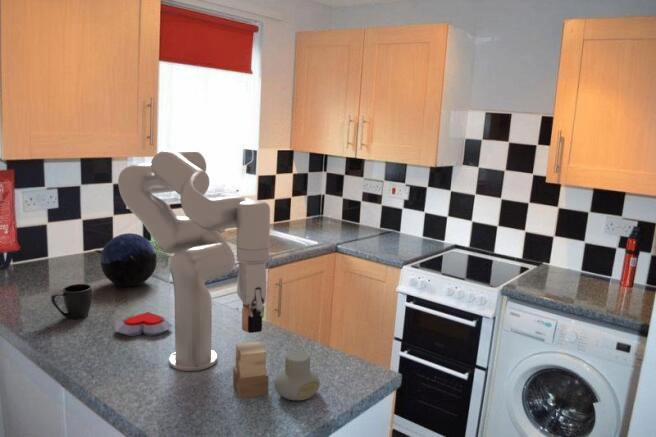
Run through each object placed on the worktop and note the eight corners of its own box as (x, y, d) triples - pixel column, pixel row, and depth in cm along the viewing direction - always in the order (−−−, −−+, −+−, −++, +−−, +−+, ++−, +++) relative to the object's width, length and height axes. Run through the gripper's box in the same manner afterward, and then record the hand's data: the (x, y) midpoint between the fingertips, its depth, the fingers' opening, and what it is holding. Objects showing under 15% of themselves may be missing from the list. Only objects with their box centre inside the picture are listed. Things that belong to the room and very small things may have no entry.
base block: (233, 385, 132) (233, 366, 131) (260, 381, 135) (260, 362, 134) (239, 399, 126) (239, 379, 125) (267, 394, 128) (268, 375, 127)
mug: (47, 318, 167) (45, 289, 165) (86, 309, 176) (84, 282, 174) (57, 326, 162) (56, 296, 160) (97, 316, 170) (95, 288, 169)
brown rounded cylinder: (240, 325, 129) (240, 306, 128) (259, 323, 130) (259, 304, 129) (244, 333, 124) (244, 313, 123) (264, 331, 126) (264, 311, 125)
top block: (235, 366, 131) (236, 344, 130) (259, 363, 133) (259, 341, 132) (240, 378, 126) (241, 354, 124) (265, 374, 128) (266, 351, 127)
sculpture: (121, 320, 169) (110, 340, 154) (121, 309, 168) (109, 328, 154) (176, 319, 172) (170, 338, 157) (176, 308, 171) (169, 327, 156)
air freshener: (302, 381, 136) (304, 344, 134) (324, 394, 130) (326, 356, 128) (268, 394, 128) (269, 356, 126) (289, 409, 122) (291, 369, 120)
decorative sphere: (130, 274, 215) (129, 226, 211) (168, 283, 206) (167, 233, 203) (89, 287, 197) (87, 235, 193) (129, 297, 189) (127, 243, 185)
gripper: (229, 246, 130) (229, 316, 133) (245, 264, 115) (244, 343, 118) (259, 244, 133) (258, 313, 136) (278, 262, 117) (277, 339, 121)
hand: (251, 326), depth 127 cm, fingers closed on brown rounded cylinder, 4 cm apart
